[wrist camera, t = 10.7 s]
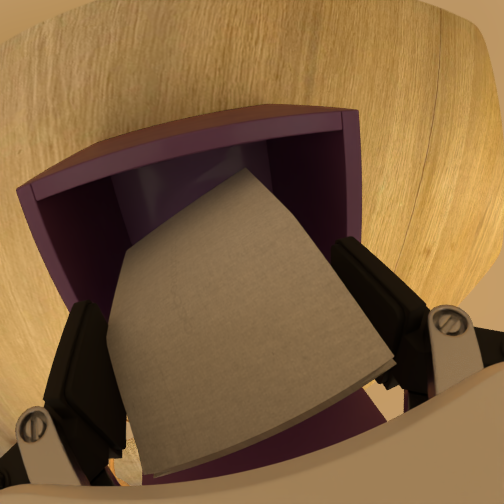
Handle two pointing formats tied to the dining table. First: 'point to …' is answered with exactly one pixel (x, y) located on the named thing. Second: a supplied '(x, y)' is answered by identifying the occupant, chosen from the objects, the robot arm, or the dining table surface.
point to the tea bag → (232, 329)
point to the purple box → (190, 186)
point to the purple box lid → (289, 441)
